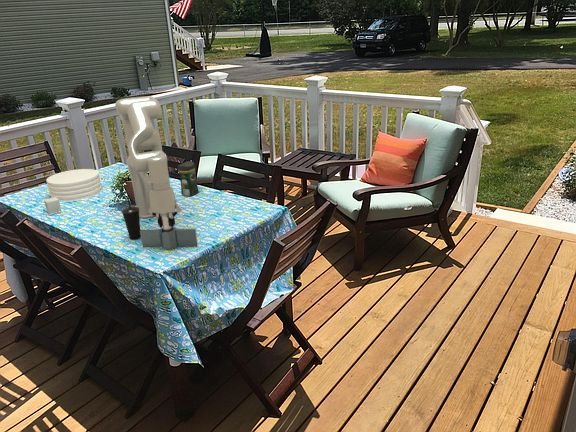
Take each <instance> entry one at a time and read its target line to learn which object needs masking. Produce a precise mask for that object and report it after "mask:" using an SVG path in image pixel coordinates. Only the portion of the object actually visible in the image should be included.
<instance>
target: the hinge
mask: <svg viewBox="0 0 576 432" xmlns="http://www.w3.org/2000/svg"><path fill="white" fill-rule="evenodd" d="M140 235H141V238H140V240H141V245H142V248H161V249H162V250H164V251H173V250H175V249H177V248H185V247H187V248H189V247H191V248H193V247H199V245H198V236H197V230H196V228H177V227H176V226H173V227H172V231H170V232H164V230H163V227H161V228H158V229H157V228H156V229H140Z"/></svg>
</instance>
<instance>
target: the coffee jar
mask: <svg viewBox="0 0 576 432" xmlns="http://www.w3.org/2000/svg"><path fill="white" fill-rule="evenodd" d="M177 172H178V173H179V177H180V180H179V181H180V190H181V192H180V193H181V195H182V196H184V197H192V196H194V195H196V194H198V193H199V187H198V182H197V176H196V164H195V162H194V161H190V160H187V161H185V162H182V163H181V164H178V165H177Z"/></svg>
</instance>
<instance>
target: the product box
mask: <svg viewBox="0 0 576 432" xmlns="http://www.w3.org/2000/svg"><path fill="white" fill-rule="evenodd" d="M43 202H44V205H45V206H44V207H45V209H46V213H47V212H48V213H49V214H51V213H55V212H59V211H62V207H61V203H59V200H58V199H57V198H56V197H54V198H51V197H50V198H47V199H44V200H43ZM48 213H47V214H48ZM49 214H48V215H49Z"/></svg>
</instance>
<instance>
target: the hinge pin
mask: <svg viewBox="0 0 576 432" xmlns="http://www.w3.org/2000/svg"><path fill="white" fill-rule="evenodd" d="M159 214H161V219H162V225H163V226H162V228H163V230H164V232H170V231H172V227H171V225H170V214H169V213H159Z"/></svg>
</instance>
